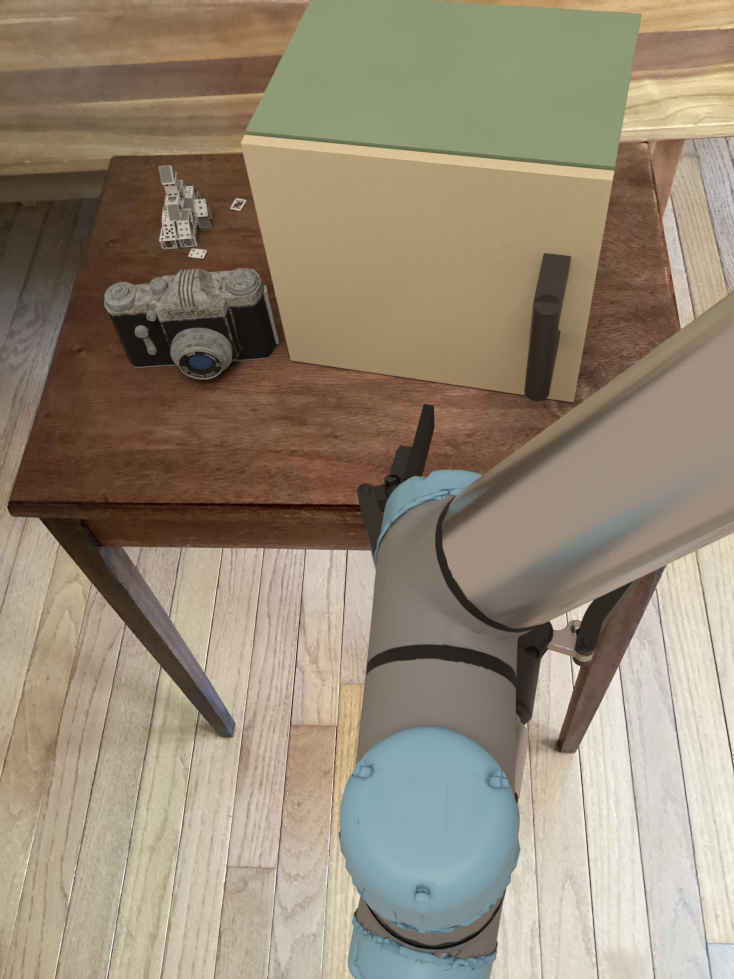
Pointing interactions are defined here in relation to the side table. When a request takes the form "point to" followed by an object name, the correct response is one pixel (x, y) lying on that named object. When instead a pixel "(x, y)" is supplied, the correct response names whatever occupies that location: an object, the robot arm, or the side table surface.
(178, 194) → the house of cards
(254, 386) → the side table surface
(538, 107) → the cupboard
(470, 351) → the cupboard door
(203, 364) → the camera
